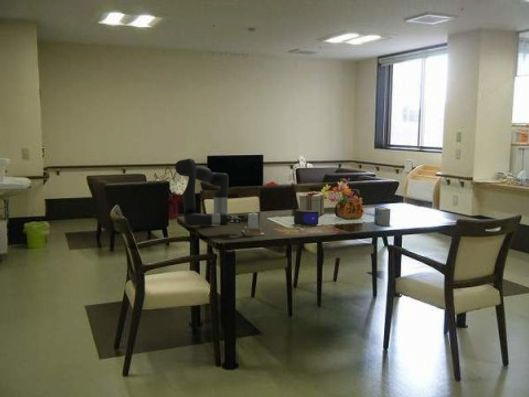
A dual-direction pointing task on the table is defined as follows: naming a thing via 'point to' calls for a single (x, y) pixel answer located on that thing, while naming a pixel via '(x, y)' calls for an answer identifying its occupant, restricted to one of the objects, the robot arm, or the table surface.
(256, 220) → the servo block
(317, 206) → the gift box
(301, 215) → the black and blue box
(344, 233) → the table surface
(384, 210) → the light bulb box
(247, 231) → the chassis board
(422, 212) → the table surface
